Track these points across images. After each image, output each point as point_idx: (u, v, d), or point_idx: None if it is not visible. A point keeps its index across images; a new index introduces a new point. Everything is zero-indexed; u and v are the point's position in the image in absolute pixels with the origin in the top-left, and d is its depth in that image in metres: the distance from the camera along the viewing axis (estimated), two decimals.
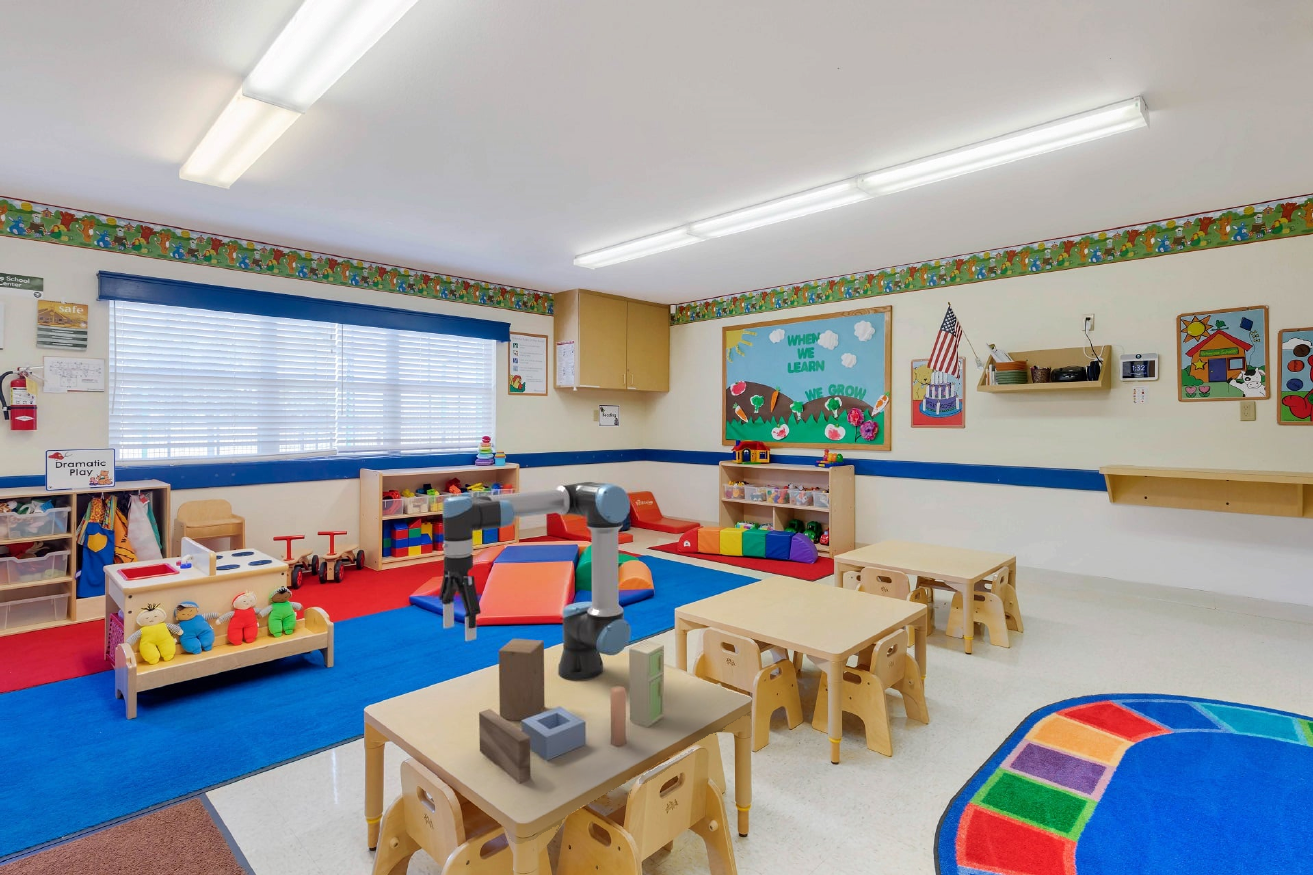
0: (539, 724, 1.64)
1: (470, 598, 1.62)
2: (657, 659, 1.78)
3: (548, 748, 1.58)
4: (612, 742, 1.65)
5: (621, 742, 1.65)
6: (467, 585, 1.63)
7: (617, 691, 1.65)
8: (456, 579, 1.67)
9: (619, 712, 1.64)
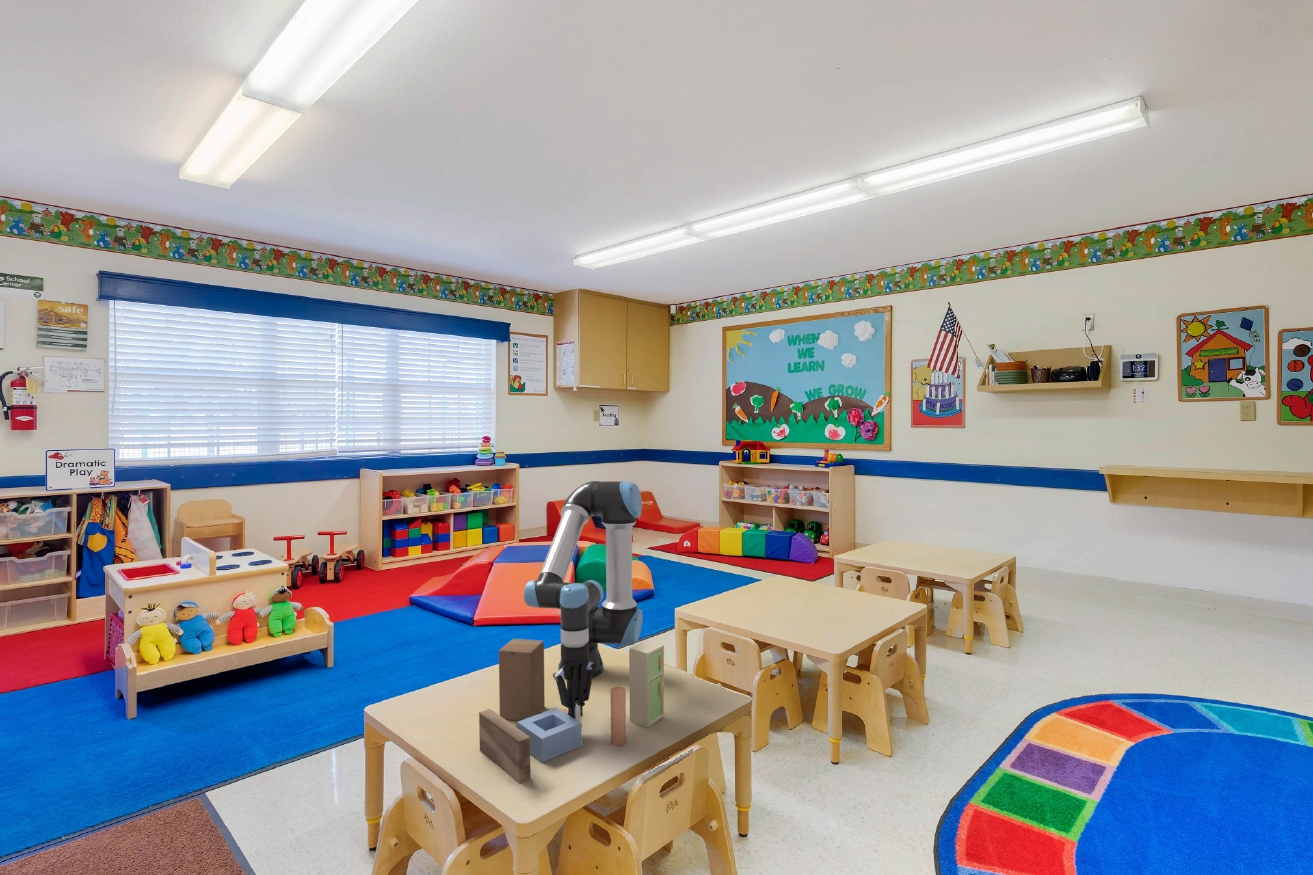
0: (535, 726, 1.63)
1: (559, 692, 1.68)
2: (657, 659, 1.78)
3: (544, 750, 1.57)
4: (612, 742, 1.65)
5: (621, 742, 1.65)
6: (556, 680, 1.67)
7: (617, 691, 1.65)
8: None
9: (619, 712, 1.64)
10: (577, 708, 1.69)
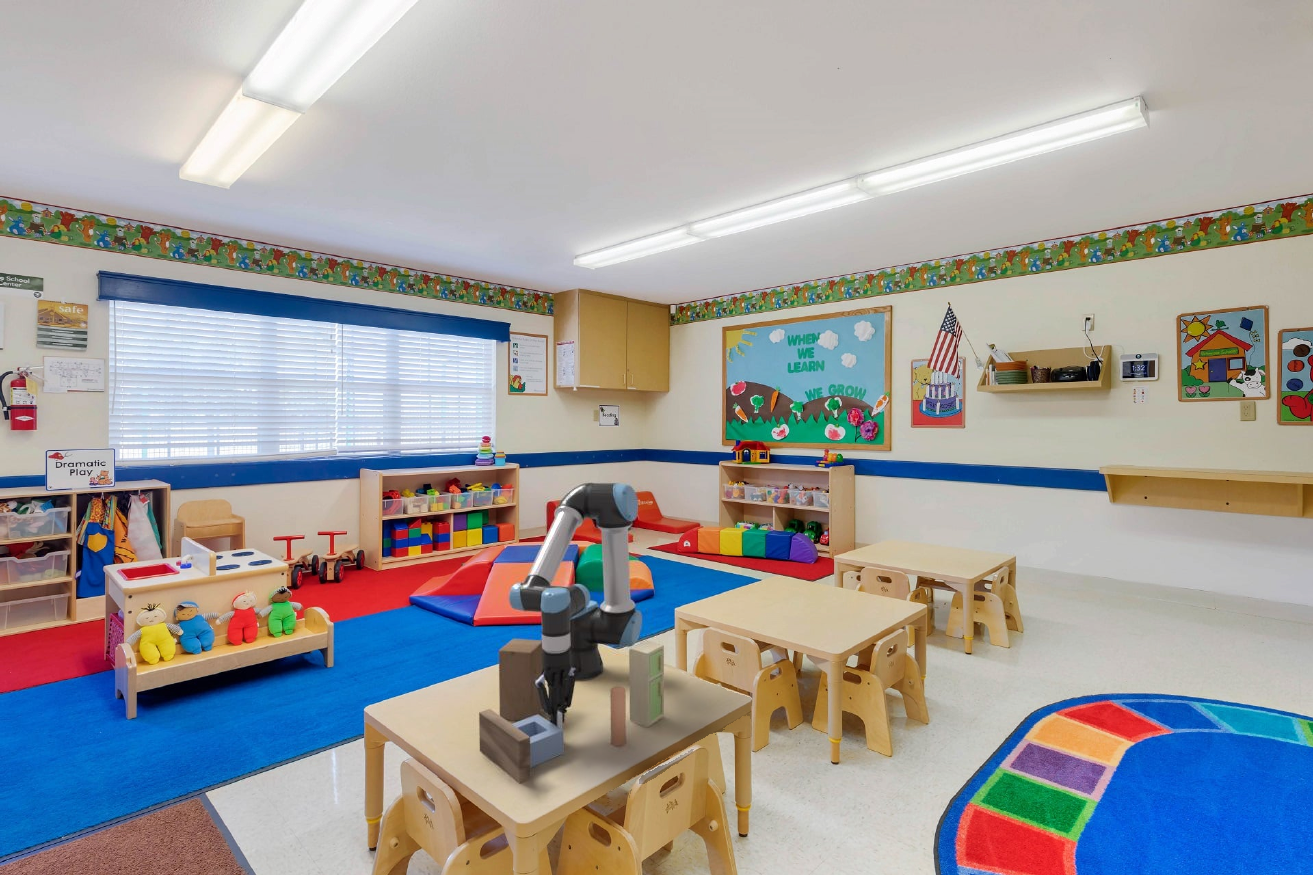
0: None
1: (540, 699, 1.64)
2: (657, 659, 1.78)
3: None
4: (612, 742, 1.65)
5: (621, 742, 1.65)
6: (537, 687, 1.63)
7: (617, 691, 1.65)
8: None
9: (619, 712, 1.64)
10: (559, 715, 1.65)
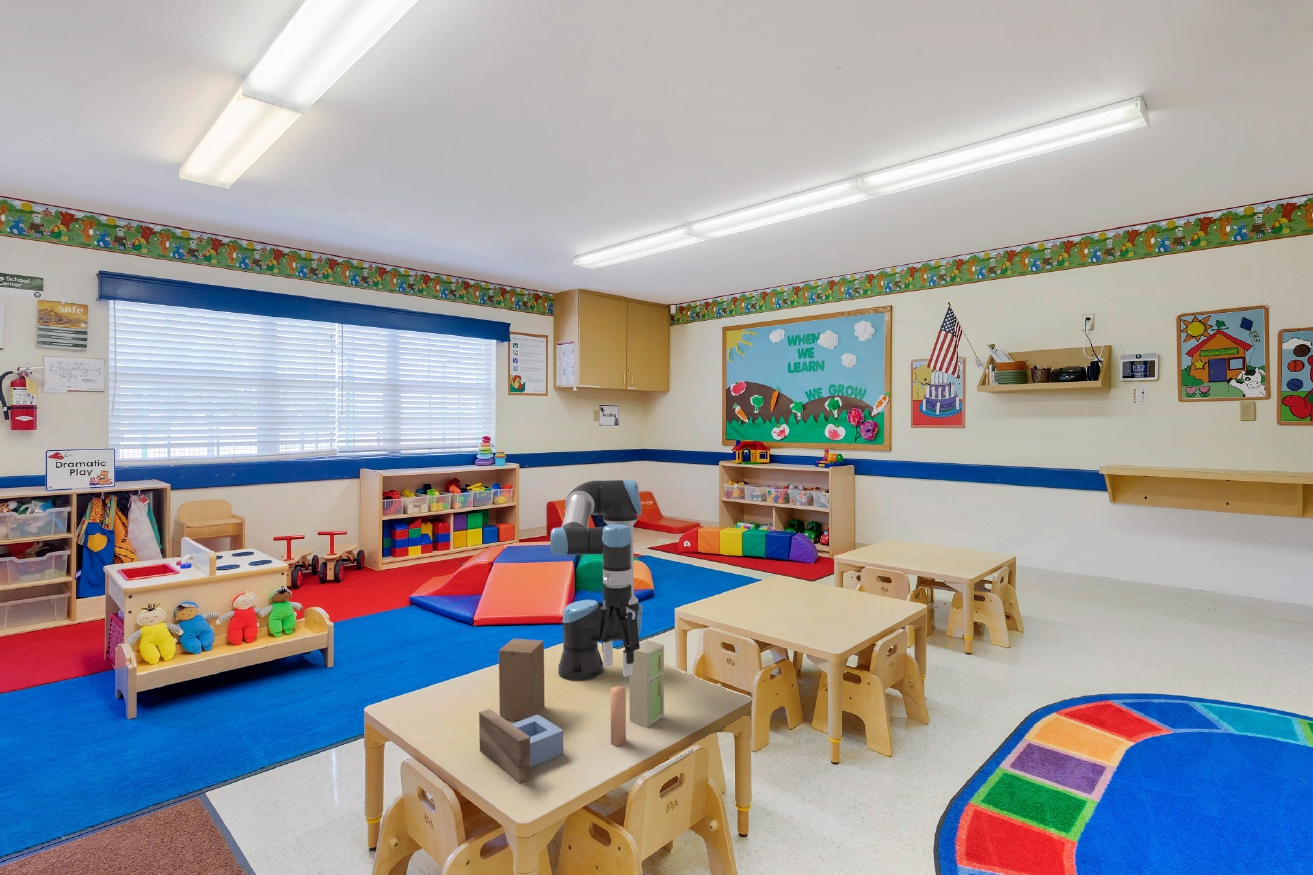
0: None
1: (632, 634, 1.60)
2: (657, 659, 1.78)
3: None
4: (612, 742, 1.65)
5: (621, 742, 1.65)
6: (630, 620, 1.60)
7: (617, 691, 1.65)
8: (617, 610, 1.63)
9: (619, 712, 1.64)
10: None
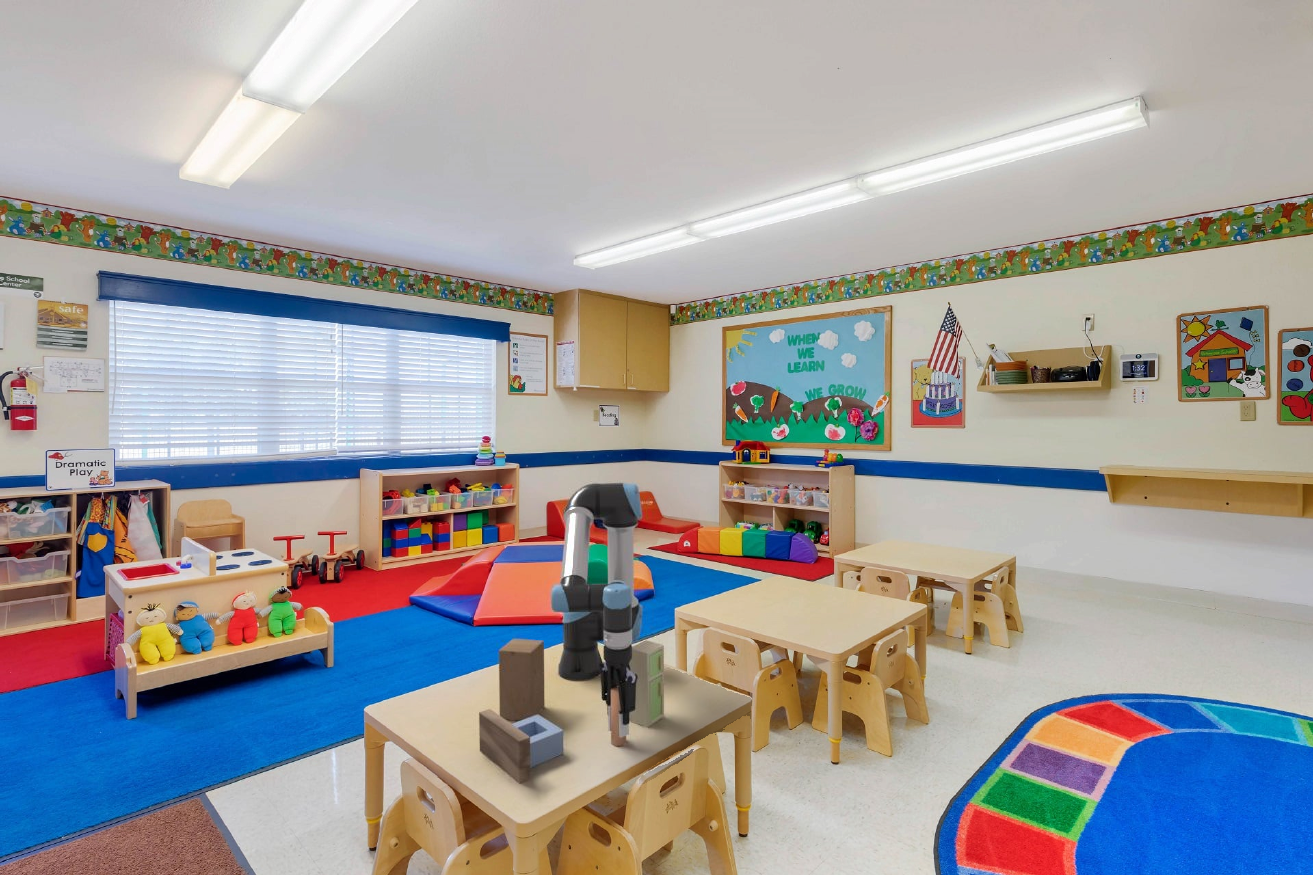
0: None
1: (629, 697, 1.61)
2: (657, 659, 1.78)
3: None
4: (612, 742, 1.65)
5: (621, 742, 1.65)
6: (630, 684, 1.61)
7: (618, 691, 1.65)
8: (618, 672, 1.64)
9: None
10: None
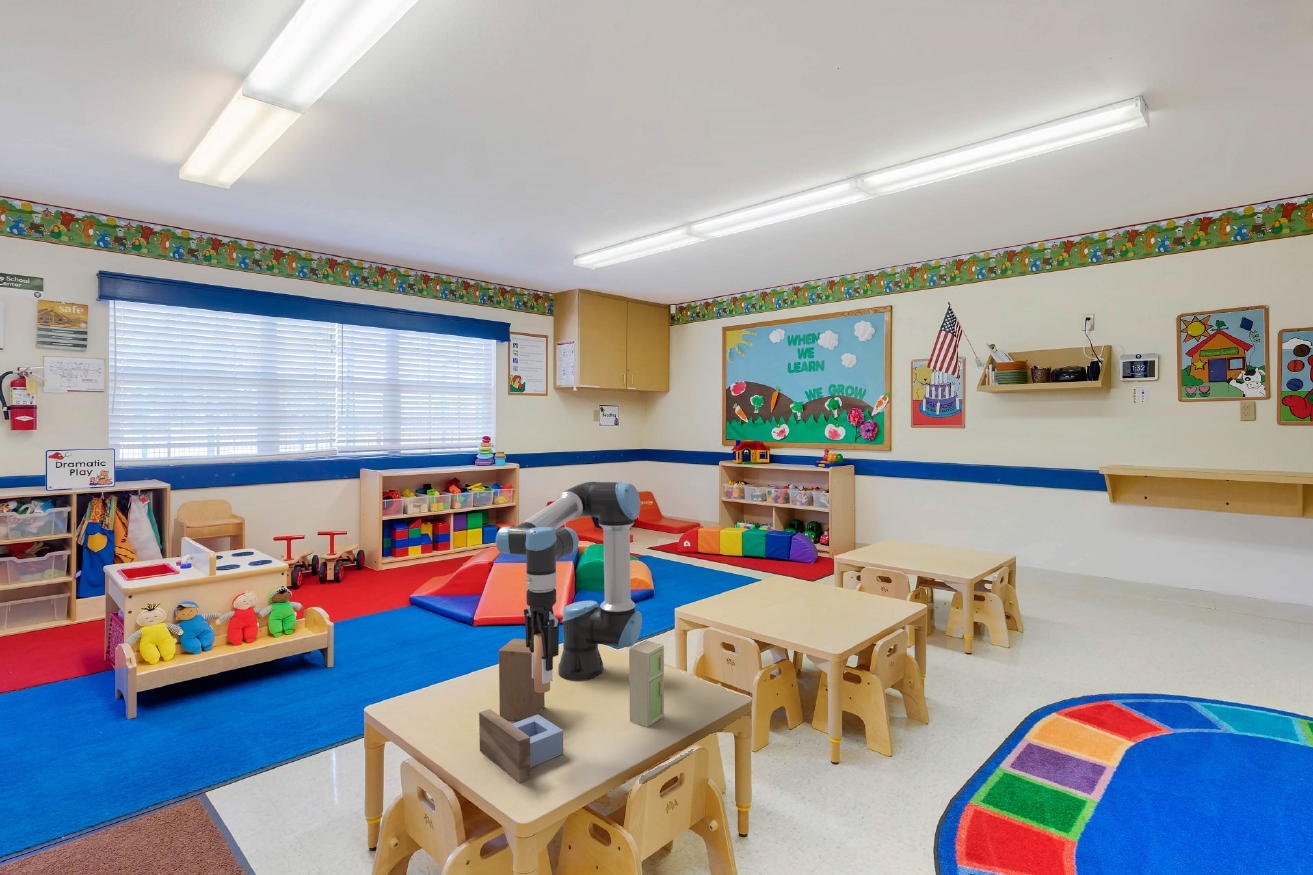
0: None
1: (552, 641, 1.56)
2: (657, 659, 1.78)
3: None
4: (535, 689, 1.60)
5: (544, 689, 1.60)
6: (552, 628, 1.56)
7: (540, 637, 1.60)
8: (540, 616, 1.59)
9: None
10: None
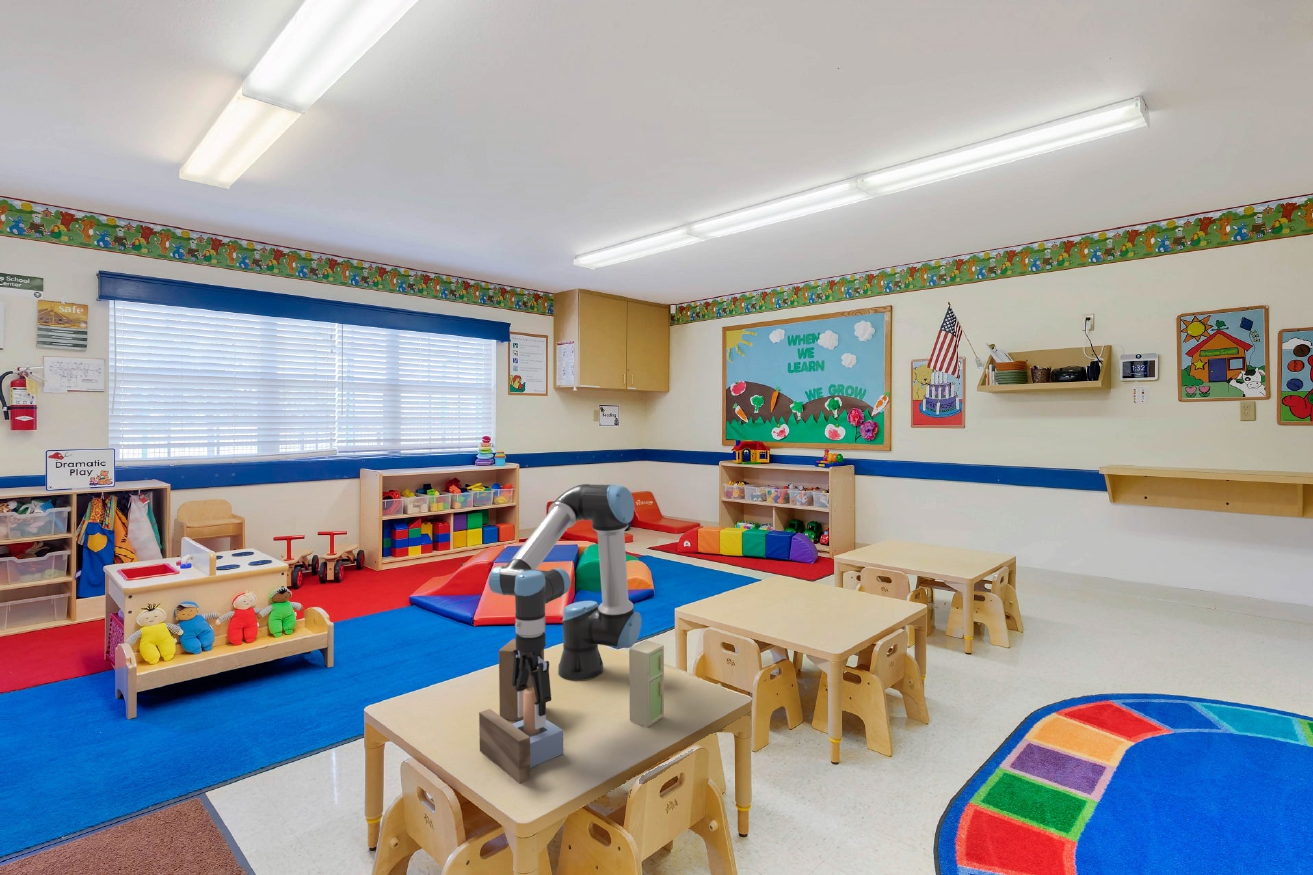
0: None
1: (543, 686, 1.55)
2: (657, 659, 1.78)
3: None
4: None
5: None
6: (541, 671, 1.56)
7: (530, 693, 1.59)
8: (529, 660, 1.58)
9: (531, 714, 1.59)
10: None
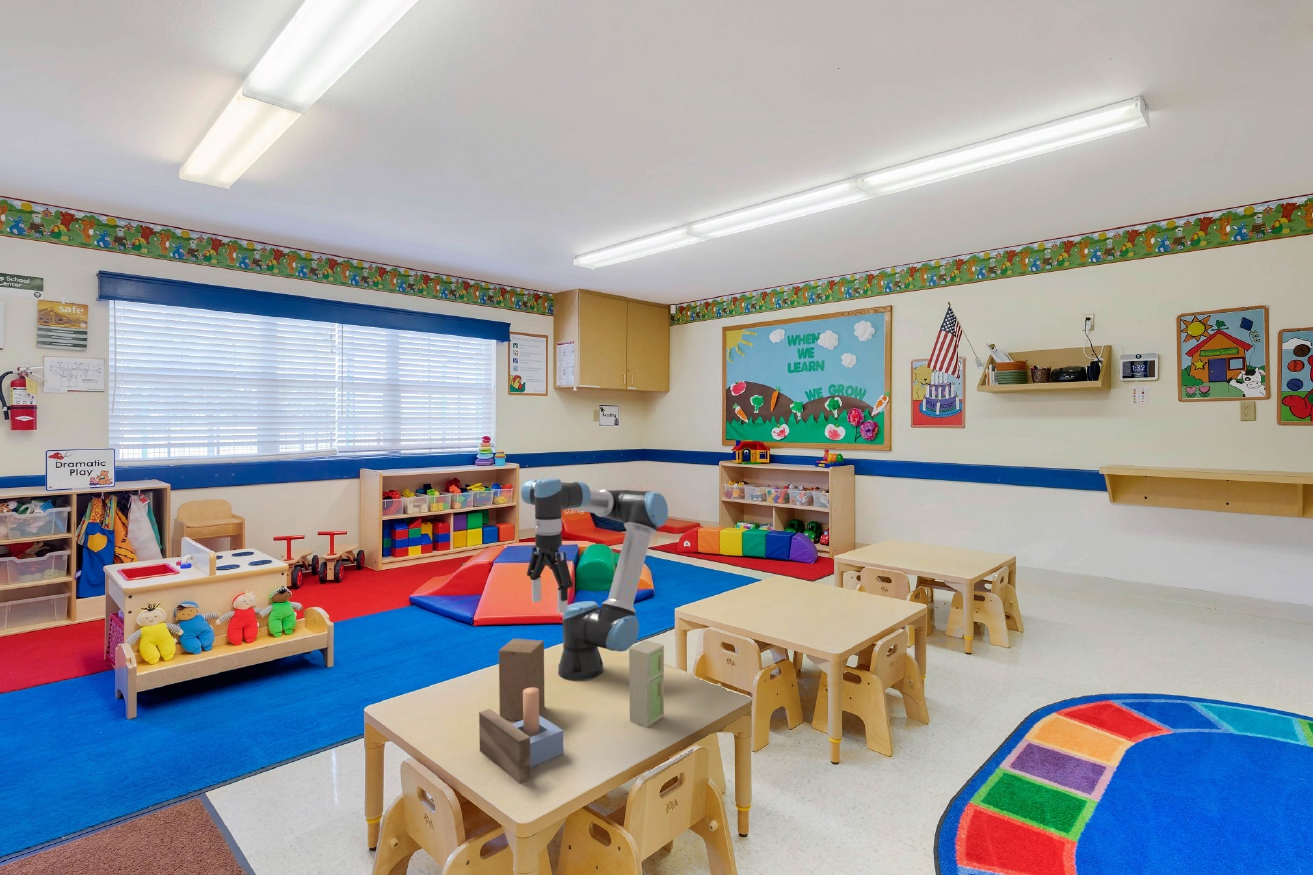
0: None
1: (563, 573, 1.74)
2: (657, 659, 1.78)
3: None
4: None
5: None
6: (560, 560, 1.75)
7: (529, 692, 1.60)
8: (547, 555, 1.78)
9: (531, 713, 1.59)
10: None
